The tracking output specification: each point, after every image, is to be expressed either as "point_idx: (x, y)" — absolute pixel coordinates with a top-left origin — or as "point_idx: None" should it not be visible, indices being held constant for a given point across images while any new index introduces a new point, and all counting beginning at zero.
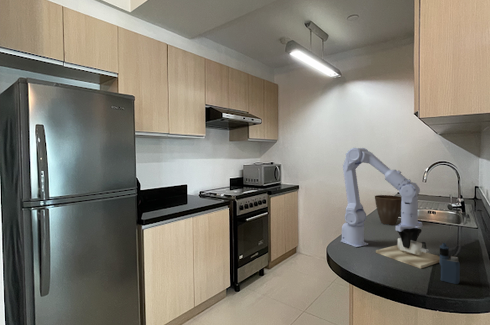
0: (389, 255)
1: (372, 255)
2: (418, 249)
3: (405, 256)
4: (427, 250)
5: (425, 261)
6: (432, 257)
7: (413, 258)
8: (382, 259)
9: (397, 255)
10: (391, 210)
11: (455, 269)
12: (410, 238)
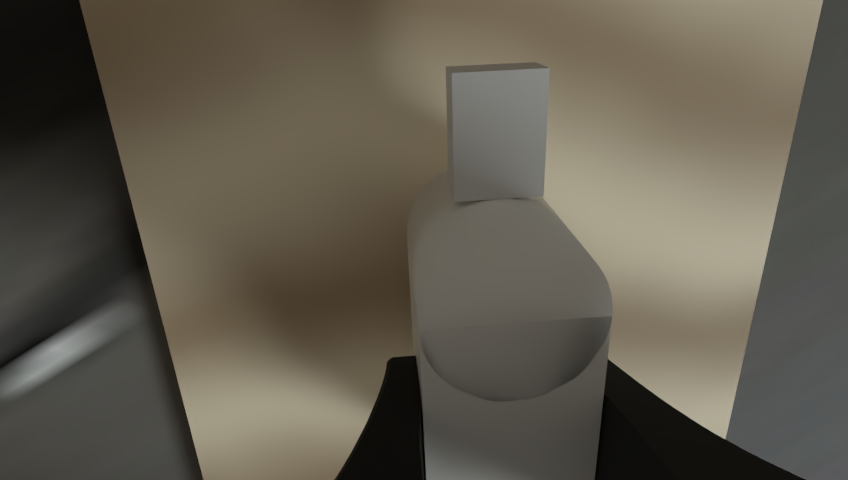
0: (733, 380)
1: (800, 466)
2: (552, 210)
3: (615, 276)
4: (493, 69)
5: (573, 13)
6: (278, 76)
7: (599, 180)
8: (841, 355)
9: (667, 339)
10: None
11: None
12: (688, 455)
